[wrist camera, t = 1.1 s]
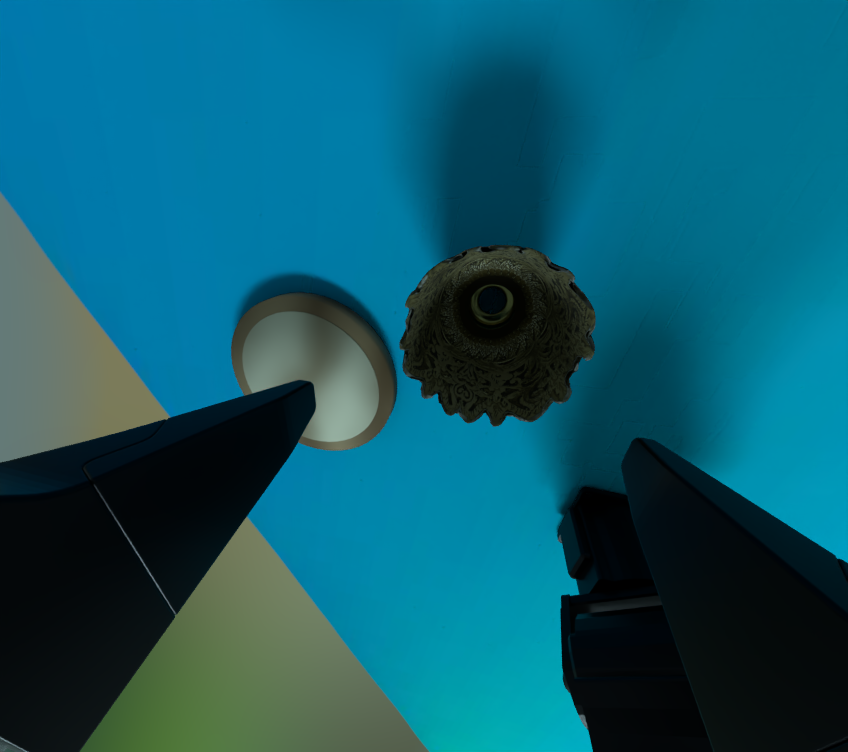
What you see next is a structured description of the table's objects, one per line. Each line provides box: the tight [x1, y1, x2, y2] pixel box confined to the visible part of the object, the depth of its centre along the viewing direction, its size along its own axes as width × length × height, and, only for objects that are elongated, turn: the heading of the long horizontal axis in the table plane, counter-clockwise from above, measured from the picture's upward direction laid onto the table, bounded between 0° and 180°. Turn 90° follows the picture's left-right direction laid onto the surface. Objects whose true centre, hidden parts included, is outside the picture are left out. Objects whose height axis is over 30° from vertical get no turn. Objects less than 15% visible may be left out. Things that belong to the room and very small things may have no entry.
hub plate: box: [231, 292, 397, 451], centre depth 23 cm, size 13×13×1 cm
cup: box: [400, 245, 595, 426], centre depth 15 cm, size 8×7×8 cm
